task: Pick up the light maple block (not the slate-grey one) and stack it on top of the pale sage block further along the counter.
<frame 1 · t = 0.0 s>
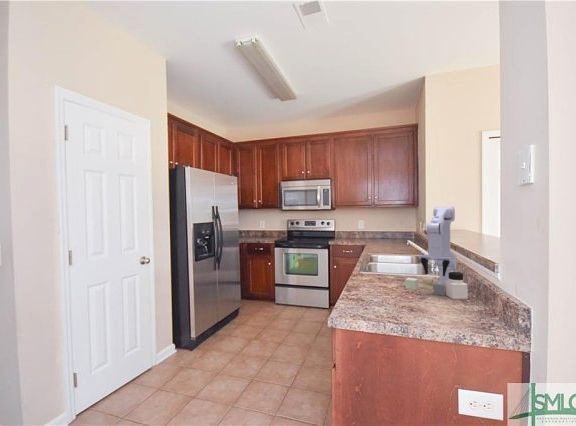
hand: (435, 274, 137), 10 cm above the worktop, tool pointing down, fingers open, 7 cm apart
slate block: (439, 294, 140), on the worktop
maple block: (428, 288, 150), on the worktop
medicine bottle: (456, 297, 134), on the worktop
sage block: (411, 288, 151), on the worktop
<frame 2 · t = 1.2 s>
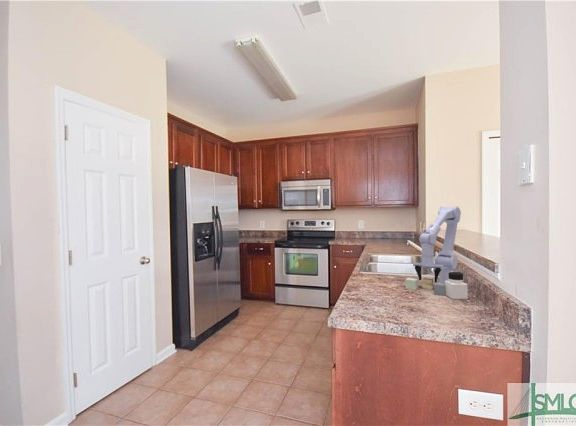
hand: (427, 281, 150), 4 cm above the worktop, tool pointing down, fingers open, 7 cm apart
nothing on the worktop moved.
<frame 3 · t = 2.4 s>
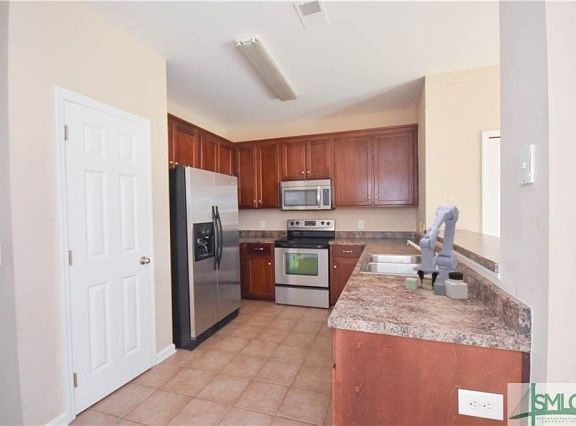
hand: (428, 285, 150), 1 cm above the worktop, tool pointing down, fingers closed on maple block, 4 cm apart
maple block: (428, 288, 150), on the worktop, touching gripper
everything else where it was.
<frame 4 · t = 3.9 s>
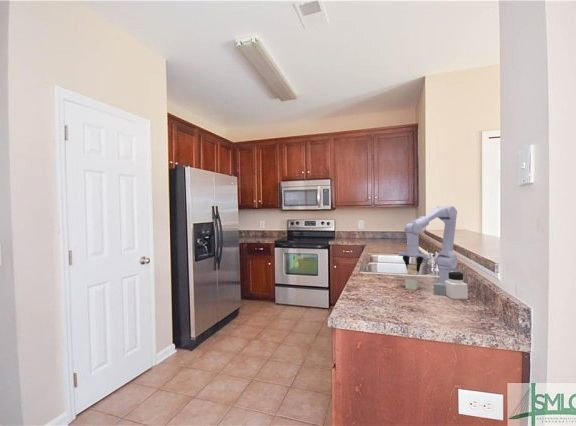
hand: (413, 270, 151), 10 cm above the worktop, tool pointing down, fingers closed on maple block, 4 cm apart
maple block: (413, 273, 150), point 8 cm above the worktop, touching gripper
everything else where it was.
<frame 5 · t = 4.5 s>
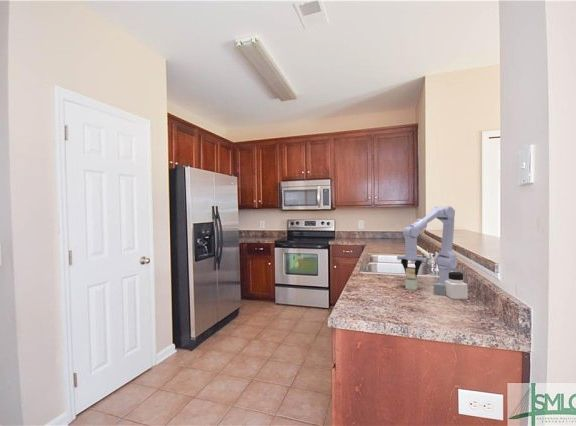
hand: (411, 274, 151), 8 cm above the worktop, tool pointing down, fingers closed on maple block, 4 cm apart
maple block: (411, 277, 151), point 6 cm above the worktop, touching gripper
everything else where it was.
when the fingers open (8 cm above the worktop, at t = 5.2 s): maple block stays where it is, resting on sage block.
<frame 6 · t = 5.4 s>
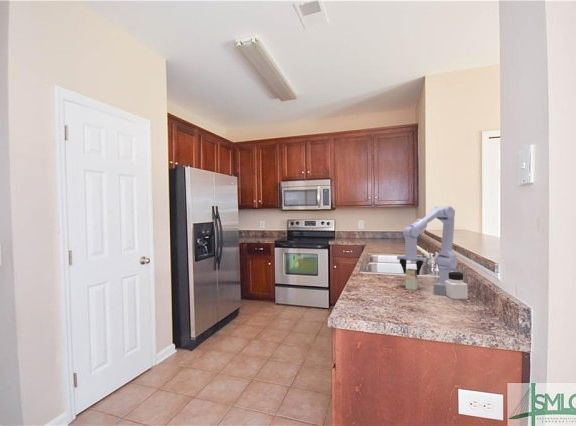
hand: (411, 274, 151), 8 cm above the worktop, tool pointing down, fingers open, 6 cm apart
maple block: (411, 279, 151), point 5 cm above the worktop, touching sage block
sage block: (411, 288, 151), on the worktop, touching maple block
everything else where it was.
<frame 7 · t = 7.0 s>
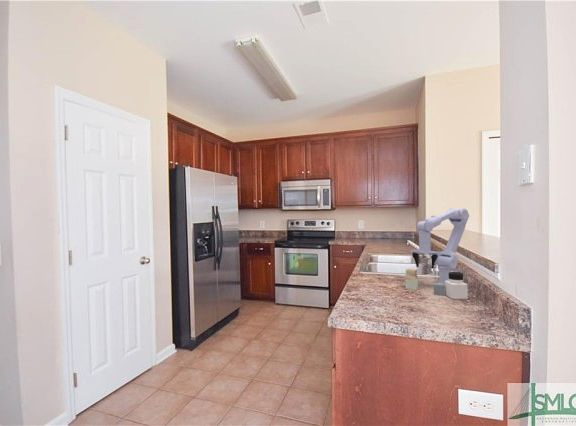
hand: (425, 267, 154), 10 cm above the worktop, tool pointing down, fingers open, 7 cm apart
nothing on the worktop moved.
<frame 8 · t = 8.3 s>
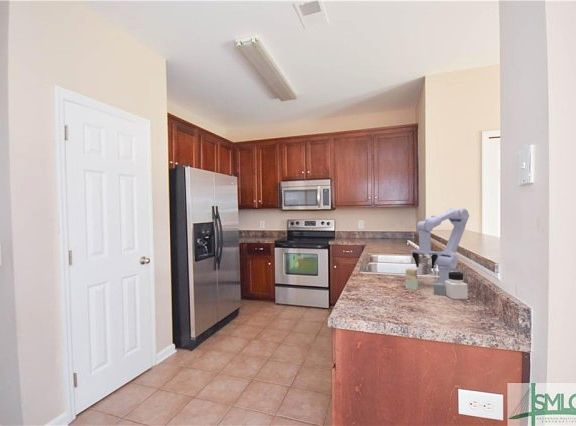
hand: (425, 267, 154), 10 cm above the worktop, tool pointing down, fingers open, 7 cm apart
nothing on the worktop moved.
at the end: maple block 0.1 cm off-centre on the sage block, point 5.0 cm above the sage block's base; maple block tilted 0°; the gripper is holding nothing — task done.
